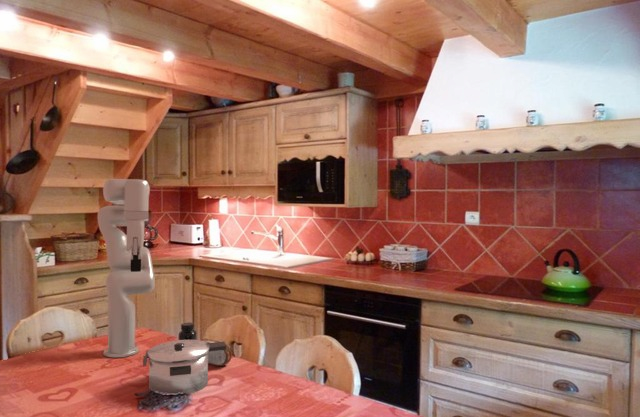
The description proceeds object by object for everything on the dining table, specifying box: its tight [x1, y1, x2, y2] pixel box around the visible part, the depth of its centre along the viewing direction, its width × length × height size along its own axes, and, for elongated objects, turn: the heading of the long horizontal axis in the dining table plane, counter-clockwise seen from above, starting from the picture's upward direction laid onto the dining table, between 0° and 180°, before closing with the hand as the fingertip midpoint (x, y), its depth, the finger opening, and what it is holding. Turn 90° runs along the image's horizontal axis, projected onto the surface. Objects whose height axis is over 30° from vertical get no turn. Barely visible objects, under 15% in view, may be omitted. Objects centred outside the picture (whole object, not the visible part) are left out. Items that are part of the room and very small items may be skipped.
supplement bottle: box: [177, 321, 198, 340], centre depth 176 cm, size 7×7×12 cm
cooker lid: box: [144, 339, 227, 363], centre depth 149 cm, size 19×25×3 cm
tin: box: [200, 338, 232, 367], centre depth 168 cm, size 15×3×8 cm, turn 64°
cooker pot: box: [142, 354, 209, 395], centre depth 148 cm, size 24×20×10 cm
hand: (135, 271), depth 155 cm, fingers closed
